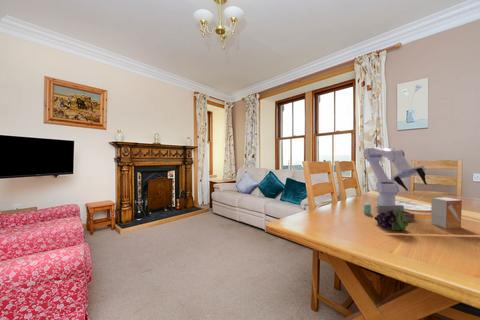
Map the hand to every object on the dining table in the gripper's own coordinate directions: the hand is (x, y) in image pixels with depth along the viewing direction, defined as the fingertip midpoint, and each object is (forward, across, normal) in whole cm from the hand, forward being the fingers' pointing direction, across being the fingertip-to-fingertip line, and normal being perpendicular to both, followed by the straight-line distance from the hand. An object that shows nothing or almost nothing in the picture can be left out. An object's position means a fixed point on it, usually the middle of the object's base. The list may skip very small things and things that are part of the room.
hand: (415, 186), depth 96 cm
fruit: (+20, -16, -6) cm, 27 cm away
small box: (+15, +1, +14) cm, 21 cm away
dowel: (+4, -26, +5) cm, 27 cm away
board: (+8, -13, +11) cm, 19 cm away
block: (+8, -13, +10) cm, 18 cm away
